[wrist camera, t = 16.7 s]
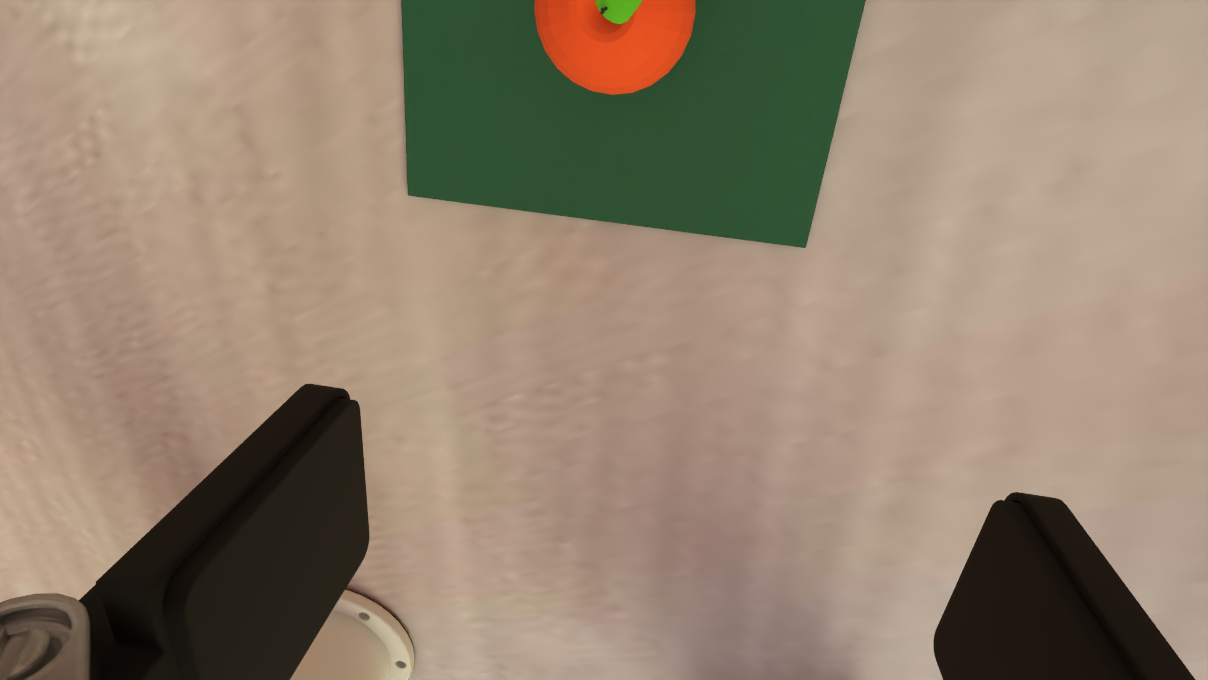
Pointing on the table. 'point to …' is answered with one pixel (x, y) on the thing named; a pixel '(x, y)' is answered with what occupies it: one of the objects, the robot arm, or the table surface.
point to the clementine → (614, 40)
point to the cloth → (631, 118)
